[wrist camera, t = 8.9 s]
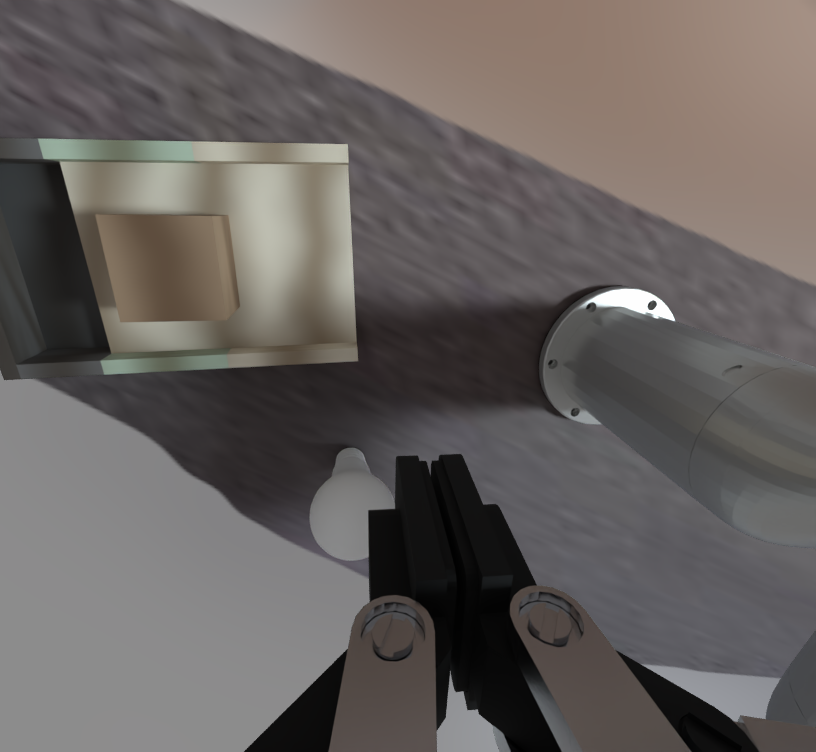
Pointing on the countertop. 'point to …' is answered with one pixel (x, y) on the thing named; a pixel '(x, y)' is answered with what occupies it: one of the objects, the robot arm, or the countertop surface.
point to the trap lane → (179, 195)
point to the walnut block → (170, 266)
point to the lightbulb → (347, 507)
